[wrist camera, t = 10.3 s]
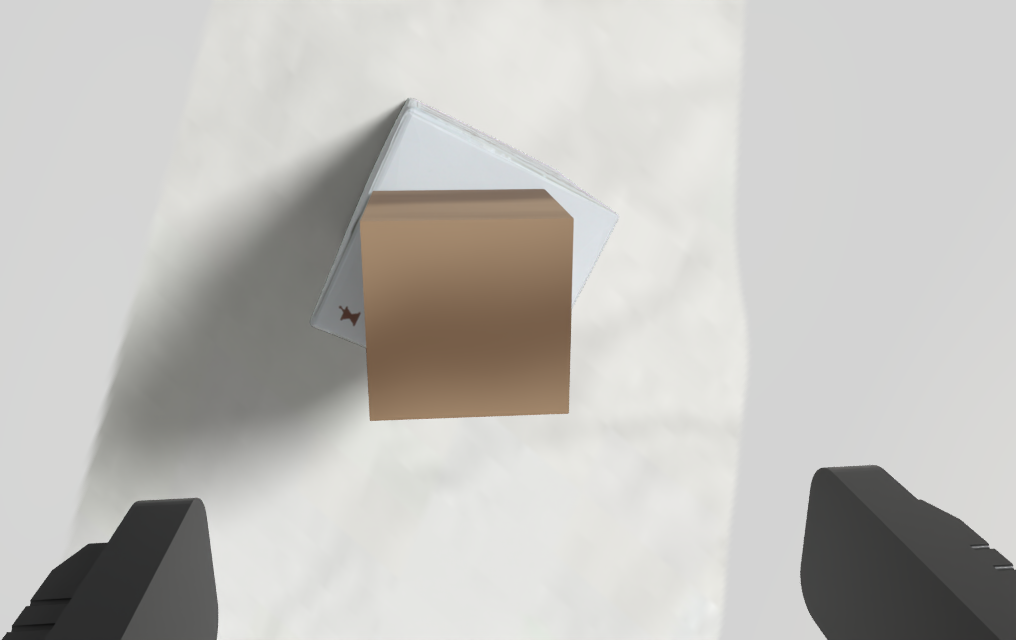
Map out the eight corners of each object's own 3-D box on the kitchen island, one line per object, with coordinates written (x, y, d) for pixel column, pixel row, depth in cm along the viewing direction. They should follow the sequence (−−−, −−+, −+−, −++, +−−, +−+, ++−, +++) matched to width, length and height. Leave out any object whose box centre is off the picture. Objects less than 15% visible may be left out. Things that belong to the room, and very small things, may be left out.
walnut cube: (372, 190, 24) (359, 221, 19) (544, 189, 24) (573, 218, 19) (380, 354, 25) (370, 420, 20) (541, 349, 26) (568, 413, 21)
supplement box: (486, 310, 38) (516, 422, 26) (338, 241, 37) (298, 327, 25) (560, 167, 37) (629, 216, 25) (409, 89, 35) (403, 101, 23)
